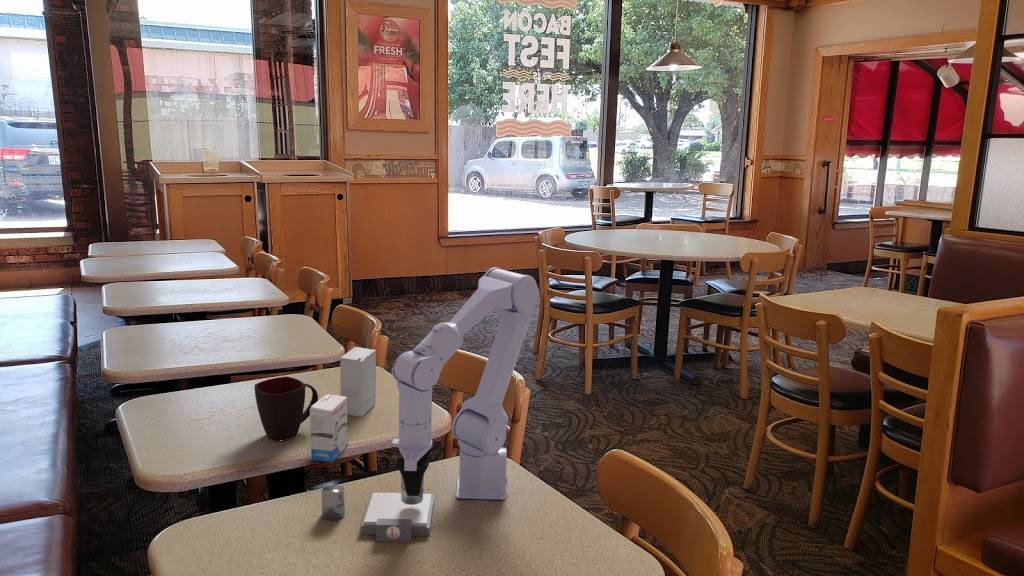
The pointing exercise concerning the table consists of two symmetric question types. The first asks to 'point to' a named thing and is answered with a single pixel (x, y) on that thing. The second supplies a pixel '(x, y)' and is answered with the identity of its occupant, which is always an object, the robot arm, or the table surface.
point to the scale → (397, 517)
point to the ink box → (328, 427)
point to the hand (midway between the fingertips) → (414, 488)
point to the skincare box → (358, 380)
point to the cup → (282, 406)
